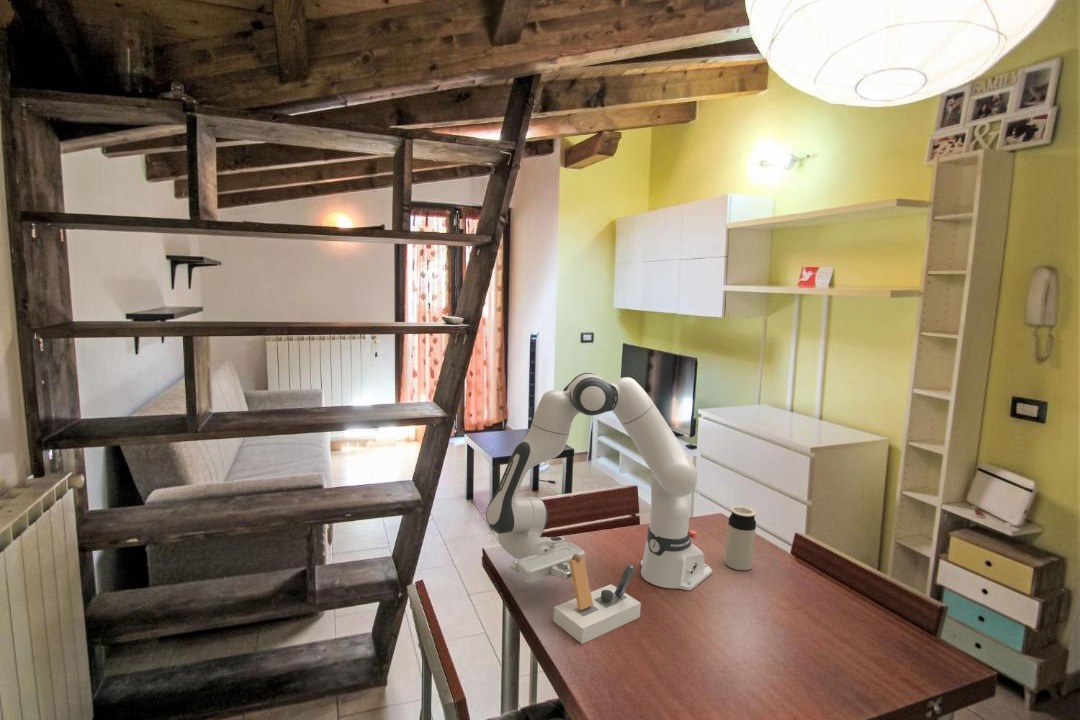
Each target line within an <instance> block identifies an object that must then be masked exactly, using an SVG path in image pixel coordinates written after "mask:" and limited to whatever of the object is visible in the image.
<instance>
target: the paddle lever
mask: <svg viewBox="0 0 1080 720" xmlns="http://www.w3.org/2000/svg"><path fill="white" fill-rule="evenodd" d="M569 563H570V568H571V574H572V577H571V579H572V582H573V588H574V593H575V598H576V600H577V605H578V610H583V609H585V608H587V607H590V606H592V605H593V601H592V596H591V592H592V591H591V586H590V581H589V577H588V576H589V575H588V572H587V566H586V559H585V560H584V557H580V555H578V554H575V555H573V557H572V560H569Z"/></svg>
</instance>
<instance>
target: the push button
mask: <svg viewBox="0 0 1080 720" xmlns="http://www.w3.org/2000/svg"><path fill="white" fill-rule="evenodd" d="M601 599H602V600H604V601H611V600H612V599H613V593H612V592H611V591H609V590H603V591H602V592H601Z"/></svg>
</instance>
